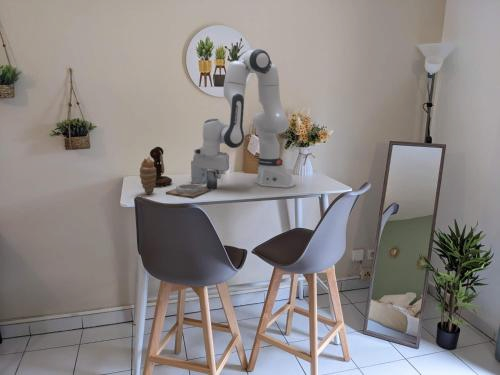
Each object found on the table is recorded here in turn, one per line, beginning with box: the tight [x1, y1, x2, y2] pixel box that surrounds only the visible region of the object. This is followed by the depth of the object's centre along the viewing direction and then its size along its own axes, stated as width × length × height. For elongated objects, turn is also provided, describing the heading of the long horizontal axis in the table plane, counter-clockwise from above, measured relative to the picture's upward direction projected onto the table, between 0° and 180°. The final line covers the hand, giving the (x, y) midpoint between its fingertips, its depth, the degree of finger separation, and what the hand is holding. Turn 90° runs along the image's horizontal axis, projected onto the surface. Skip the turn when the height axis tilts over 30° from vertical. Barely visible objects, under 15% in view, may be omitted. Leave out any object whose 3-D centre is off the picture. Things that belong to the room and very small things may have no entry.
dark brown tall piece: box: [149, 146, 173, 188], centre depth 210 cm, size 15×15×20 cm
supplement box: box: [190, 159, 208, 185], centre depth 218 cm, size 7×7×13 cm
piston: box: [206, 169, 218, 190], centre depth 206 cm, size 6×6×9 cm
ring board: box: [165, 183, 212, 199], centre depth 197 cm, size 16×16×3 cm
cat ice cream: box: [139, 156, 157, 195], centre depth 191 cm, size 9×8×18 cm
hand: (210, 177), depth 206 cm, fingers open, 8 cm apart
